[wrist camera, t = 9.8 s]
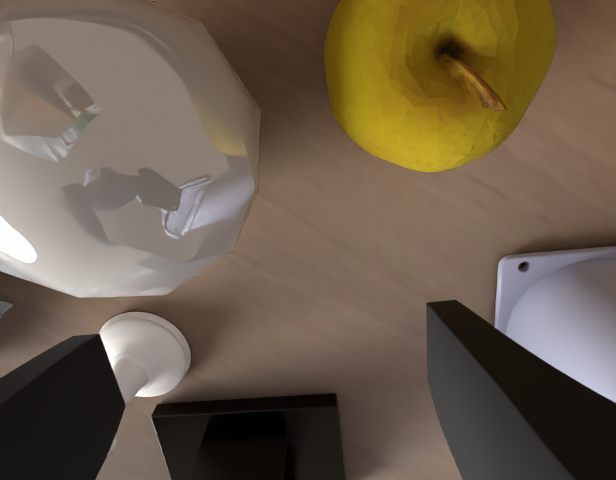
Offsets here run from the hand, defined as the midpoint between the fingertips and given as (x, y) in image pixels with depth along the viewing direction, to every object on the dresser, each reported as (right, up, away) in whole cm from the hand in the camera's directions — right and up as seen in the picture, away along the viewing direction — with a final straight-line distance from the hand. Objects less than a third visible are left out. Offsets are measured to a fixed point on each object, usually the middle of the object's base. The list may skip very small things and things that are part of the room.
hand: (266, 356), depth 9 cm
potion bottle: (-7, +9, +8) cm, 14 cm away
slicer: (-2, -9, +15) cm, 18 cm away
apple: (+5, +9, +7) cm, 13 cm away
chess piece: (-8, -3, +13) cm, 15 cm away
